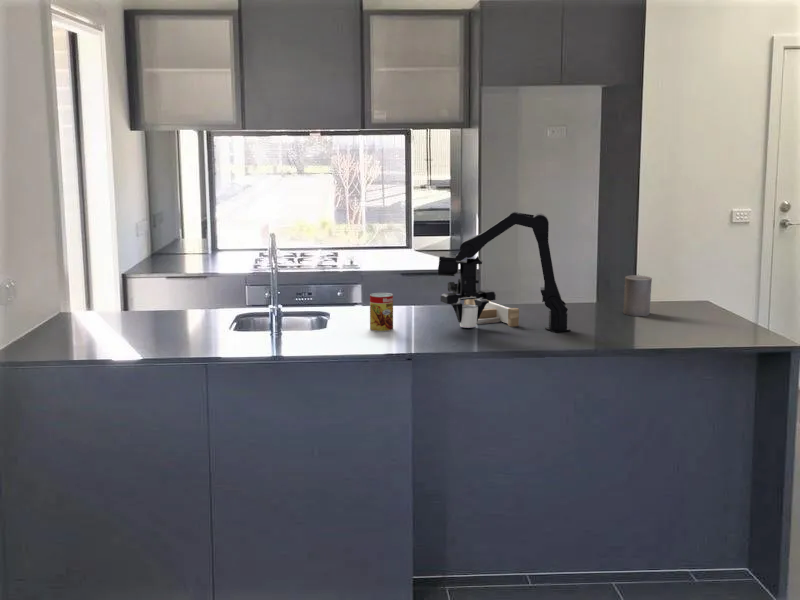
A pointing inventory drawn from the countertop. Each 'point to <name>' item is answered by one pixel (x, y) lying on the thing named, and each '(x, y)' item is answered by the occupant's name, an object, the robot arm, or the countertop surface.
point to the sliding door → (495, 312)
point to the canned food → (381, 311)
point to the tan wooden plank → (512, 317)
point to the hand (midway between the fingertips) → (468, 321)
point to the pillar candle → (637, 295)
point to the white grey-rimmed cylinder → (469, 316)
